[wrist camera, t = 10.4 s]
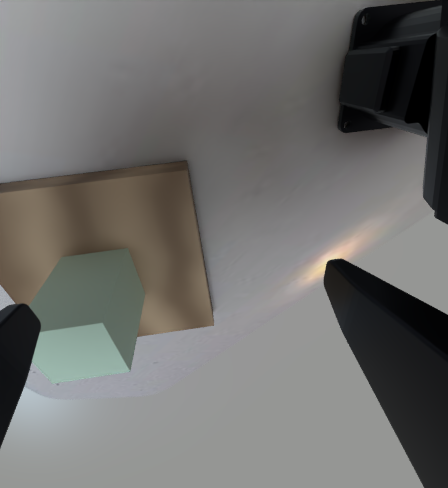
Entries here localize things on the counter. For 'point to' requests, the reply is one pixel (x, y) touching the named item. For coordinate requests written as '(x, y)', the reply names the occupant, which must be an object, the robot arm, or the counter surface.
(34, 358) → the sage block
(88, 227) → the walnut base
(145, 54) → the counter surface
